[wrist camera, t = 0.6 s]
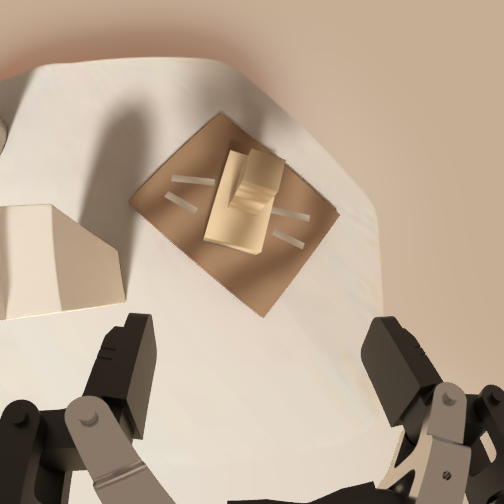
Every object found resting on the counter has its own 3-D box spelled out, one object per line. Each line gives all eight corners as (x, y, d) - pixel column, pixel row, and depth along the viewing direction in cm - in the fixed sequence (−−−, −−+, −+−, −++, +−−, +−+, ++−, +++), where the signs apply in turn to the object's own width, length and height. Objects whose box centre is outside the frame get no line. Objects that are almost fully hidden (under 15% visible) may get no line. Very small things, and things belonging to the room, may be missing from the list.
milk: (118, 250, 32) (30, 182, 11) (126, 303, 32) (39, 315, 10) (70, 259, 31) (-52, 210, 9) (78, 311, 30) (-46, 326, 9)
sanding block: (202, 240, 33) (211, 216, 23) (226, 161, 35) (244, 110, 24) (254, 255, 34) (286, 238, 24) (274, 176, 36) (308, 133, 25)
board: (129, 204, 33) (128, 201, 32) (219, 117, 37) (220, 113, 36) (261, 316, 35) (263, 317, 34) (335, 216, 39) (340, 214, 37)
